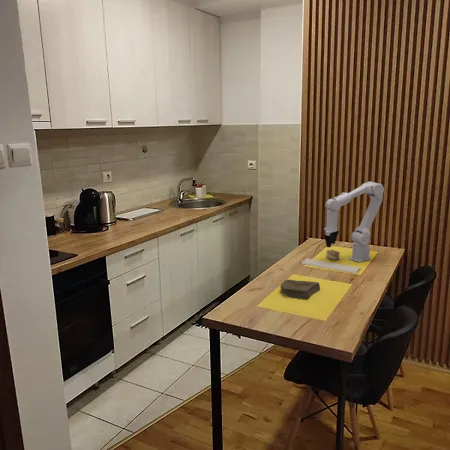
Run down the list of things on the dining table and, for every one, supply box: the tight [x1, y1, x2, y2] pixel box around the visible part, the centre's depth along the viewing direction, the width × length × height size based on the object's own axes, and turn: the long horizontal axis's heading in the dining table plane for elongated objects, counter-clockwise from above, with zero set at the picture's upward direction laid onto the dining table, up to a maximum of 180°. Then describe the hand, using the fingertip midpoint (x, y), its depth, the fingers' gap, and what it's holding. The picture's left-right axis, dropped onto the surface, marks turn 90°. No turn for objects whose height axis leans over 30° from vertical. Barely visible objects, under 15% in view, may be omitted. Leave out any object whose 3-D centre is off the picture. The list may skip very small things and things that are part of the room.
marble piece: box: [280, 279, 321, 300], centre depth 192 cm, size 17×15×4 cm
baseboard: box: [299, 257, 362, 275], centre depth 227 cm, size 30×3×10 cm
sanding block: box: [325, 249, 341, 262], centre depth 240 cm, size 4×6×4 cm, turn 33°
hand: (330, 245), depth 233 cm, fingers open, 7 cm apart
